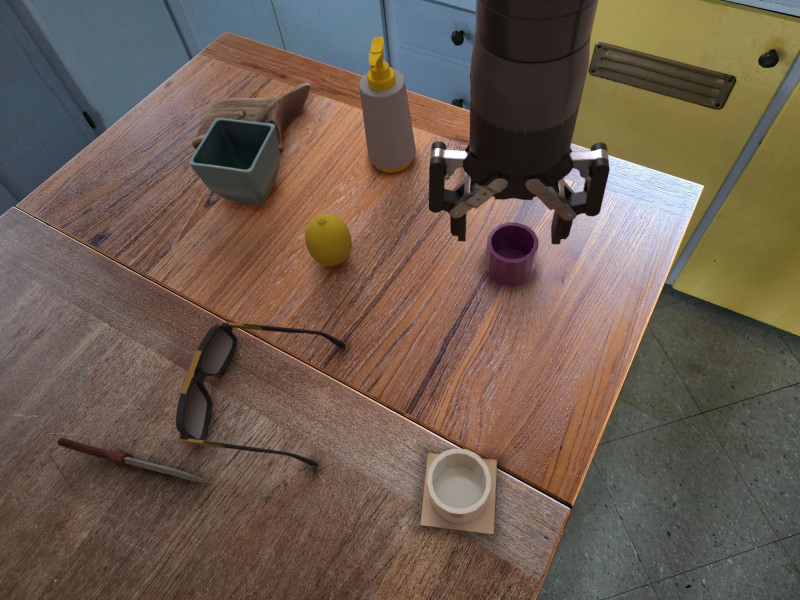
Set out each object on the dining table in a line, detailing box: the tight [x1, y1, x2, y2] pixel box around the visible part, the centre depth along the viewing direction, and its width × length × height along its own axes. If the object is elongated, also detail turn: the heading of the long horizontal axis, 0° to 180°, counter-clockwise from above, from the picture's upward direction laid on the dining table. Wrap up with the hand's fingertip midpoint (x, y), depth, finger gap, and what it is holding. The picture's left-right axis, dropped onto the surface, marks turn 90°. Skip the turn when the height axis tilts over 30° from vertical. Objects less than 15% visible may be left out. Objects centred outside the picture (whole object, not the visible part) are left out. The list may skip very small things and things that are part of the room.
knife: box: [56, 437, 216, 485], centre depth 58 cm, size 18×2×3 cm, turn 76°
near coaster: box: [419, 452, 498, 536], centre depth 54 cm, size 7×7×1 cm
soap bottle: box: [358, 36, 417, 174], centre depth 71 cm, size 7×7×18 cm
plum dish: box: [485, 221, 539, 287], centre depth 66 cm, size 6×6×5 cm
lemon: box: [304, 213, 353, 267], centre depth 67 cm, size 6×6×8 cm
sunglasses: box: [175, 321, 346, 468], centre depth 60 cm, size 14×15×5 cm
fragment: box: [191, 82, 312, 154], centre depth 84 cm, size 13×16×5 cm
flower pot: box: [188, 118, 281, 206], centre depth 75 cm, size 9×9×9 cm
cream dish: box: [427, 447, 492, 524], centre depth 52 cm, size 6×6×5 cm
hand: (508, 235), depth 52 cm, fingers open, 8 cm apart
